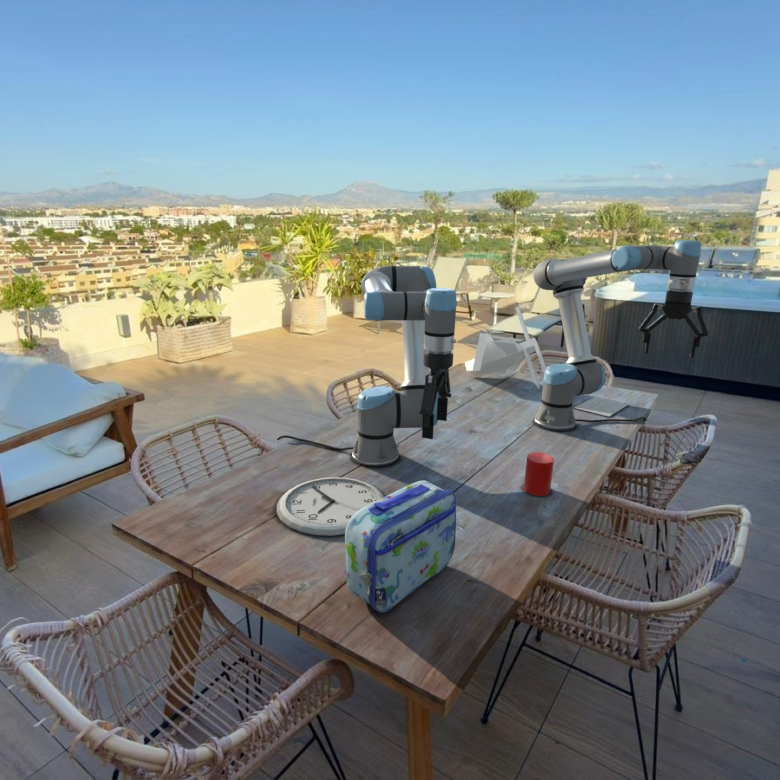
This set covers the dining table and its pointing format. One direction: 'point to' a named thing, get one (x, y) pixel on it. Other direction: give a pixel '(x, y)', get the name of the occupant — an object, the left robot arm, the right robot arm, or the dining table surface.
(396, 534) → the lunch box
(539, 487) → the red cylinder
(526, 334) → the white plastic object
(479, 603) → the dining table surface
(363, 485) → the wall clock
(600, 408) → the invitation card
